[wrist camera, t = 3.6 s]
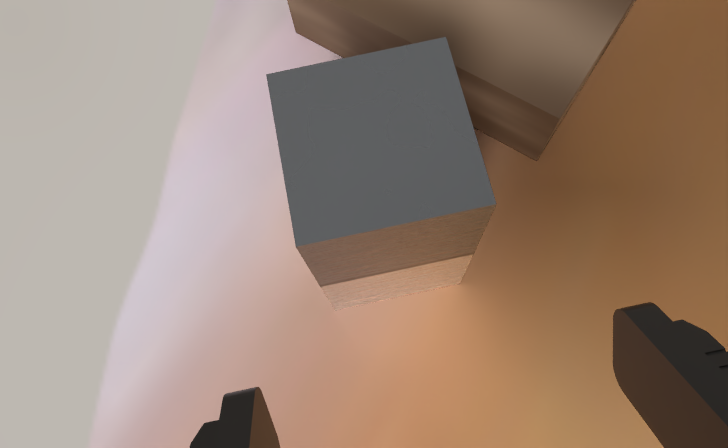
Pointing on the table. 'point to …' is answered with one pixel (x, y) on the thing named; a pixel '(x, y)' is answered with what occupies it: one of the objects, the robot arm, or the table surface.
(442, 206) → the block
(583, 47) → the walnut stand
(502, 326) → the table surface
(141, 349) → the table surface
